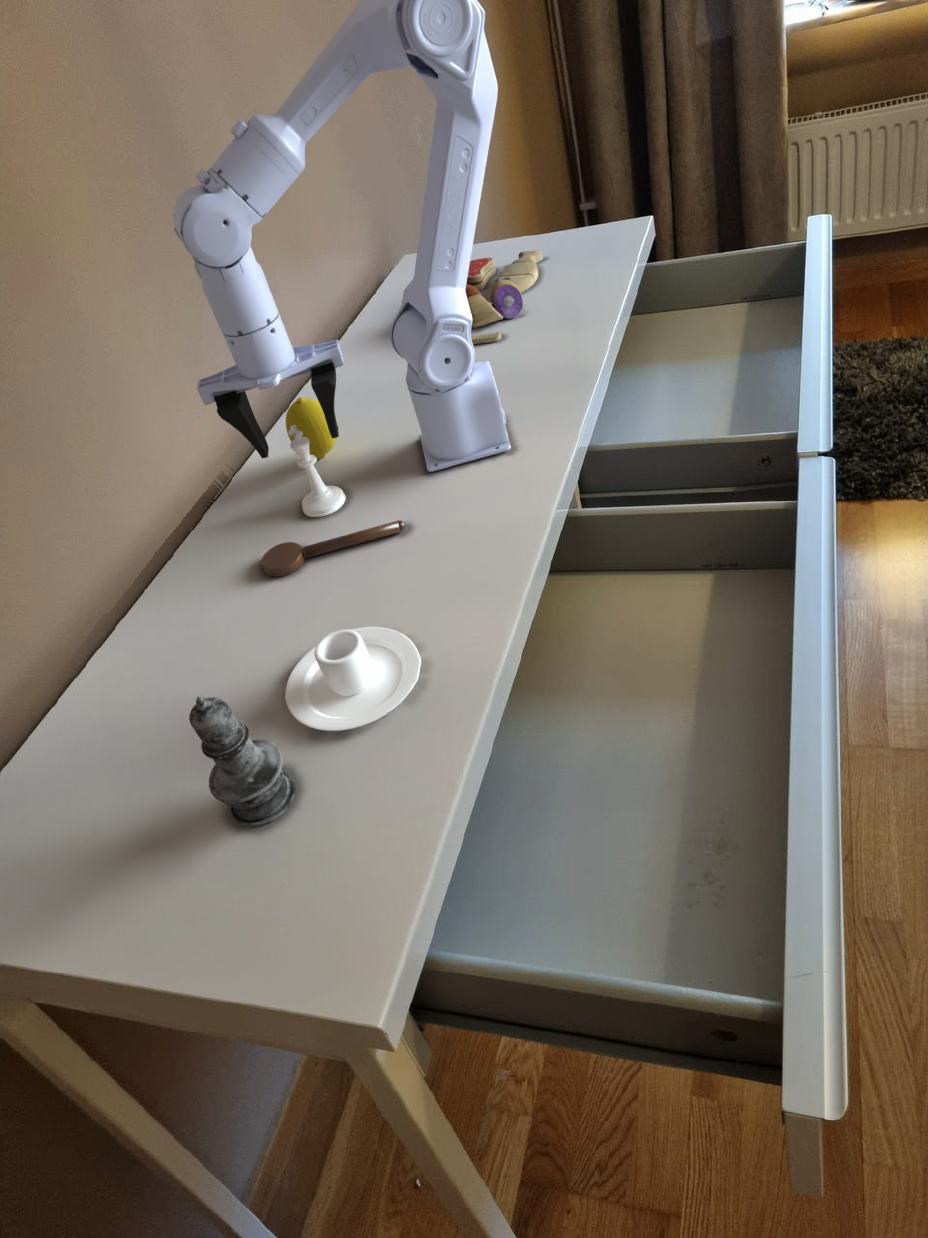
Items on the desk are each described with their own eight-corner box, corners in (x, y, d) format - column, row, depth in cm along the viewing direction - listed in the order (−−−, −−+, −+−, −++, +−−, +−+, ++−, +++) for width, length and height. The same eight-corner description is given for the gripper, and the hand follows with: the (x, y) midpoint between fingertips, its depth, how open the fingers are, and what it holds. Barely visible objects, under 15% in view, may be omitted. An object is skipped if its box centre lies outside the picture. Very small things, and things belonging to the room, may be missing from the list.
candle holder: (450, 667, 75) (437, 630, 72) (344, 760, 70) (326, 725, 67) (363, 615, 83) (349, 580, 80) (262, 696, 78) (243, 662, 75)
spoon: (404, 517, 93) (401, 508, 92) (408, 541, 89) (405, 532, 89) (265, 555, 93) (261, 547, 93) (264, 581, 90) (259, 572, 89)
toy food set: (517, 339, 117) (511, 310, 114) (401, 352, 122) (393, 325, 119) (544, 257, 134) (540, 230, 132) (443, 272, 139) (436, 247, 136)
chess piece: (327, 520, 96) (295, 441, 89) (294, 513, 98) (260, 436, 92) (354, 493, 98) (324, 415, 92) (321, 487, 101) (290, 410, 94)
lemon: (337, 469, 103) (314, 409, 98) (294, 472, 105) (269, 413, 99) (350, 442, 107) (329, 383, 102) (308, 446, 108) (285, 388, 103)
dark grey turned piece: (231, 775, 72) (165, 676, 64) (300, 760, 71) (242, 658, 63) (223, 837, 67) (150, 738, 59) (296, 821, 67) (233, 719, 59)
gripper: (173, 361, 81) (232, 481, 90) (324, 316, 81) (368, 443, 90) (180, 330, 87) (236, 447, 96) (322, 288, 86) (364, 410, 95)
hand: (300, 443), depth 93 cm, fingers open, 7 cm apart
